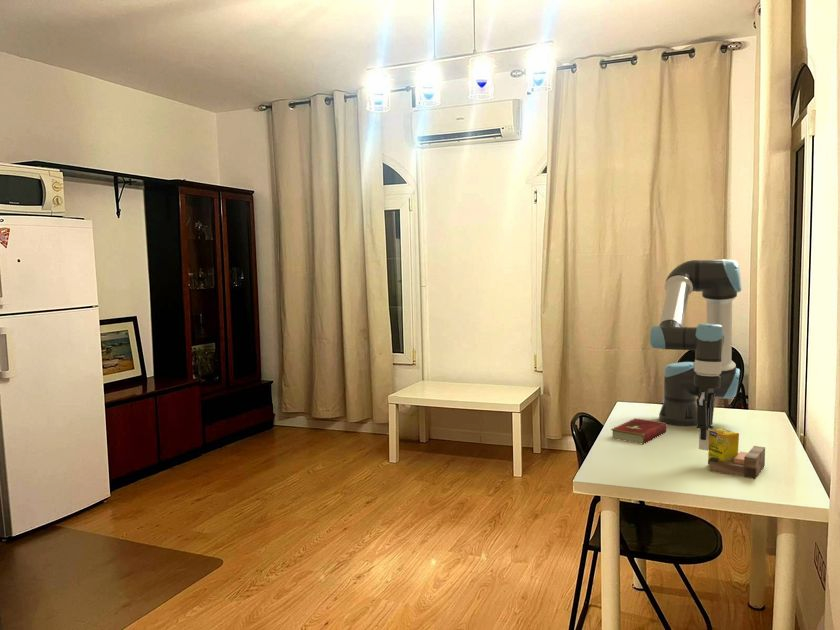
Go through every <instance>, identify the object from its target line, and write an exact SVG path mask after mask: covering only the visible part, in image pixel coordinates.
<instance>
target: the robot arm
mask: <svg viewBox="0 0 840 630" xmlns="http://www.w3.org/2000/svg"><path fill="white" fill-rule="evenodd" d="M666 277H667V278H666V279H665V284H664V290H665V297H664V302H663V305H662V311H661V315H660V321H659V325H655V326H654V325H653V326H651V328H650V331H649V344H650V347H651V348H652V349H656V350H657V349H658V350H674V351H675V350H676V351H677V350H678V351H683V350H684V351H694V352H695V353H694V354H695V355H694V356H695V357H694V361H682V362H681V361H680V362H673V363H669V364H667V365H665V368H664V374H663V378H664V381H663V382H664V386H663V387H664V388H663V389H664V391H663V392H664V393H663V397H664V398H663V402H662V405H661V408H660V411H659V414H658V420H659V422H663V423H666V424H668V425H674V426H695V425H696V429H699V433H698V434H699V435H698V450H701V451H707V452H709V431H710V430H711V429H714V426H713V420H714V410H715V402H716V399H722V400H724V399H730V400H731V399H734V398H735V397H736V396H737V393H738V387H739V380H740V375H741V370H740V368H737V366H736V365H737V364H736V363H735V362H734V361H733V360H732V356H733V355H732V349H733V348H732V345H733V344H732V339H733V338H732V337H733V335H732V334H733V333H732V332H733V300H735V299H736V298H737V297H738V293H740V292H741V291H742V280H741V271H740V265H739V262H738V261H737V260H735V259H725V258H723V259H720V258H719V259H701V260H700V259H697V260H696V259H691V260H687V261H684V262H683V263H681V264H679V265H677V266H675V268H673V269H672V270H671V272H670V273H669V274H668V275H667V276H666ZM693 292H700V293H701V298H702V299H704V300H705V301H706V323H699V324H697V325H696V327H695V326H693V327H692V326H690V327H689V326H684V325H685V319H686V313H687V308H688V307H687V306H688V300H689V296H690V295H691V294H692V293H693ZM697 397H698V398H697Z"/></svg>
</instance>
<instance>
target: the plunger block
mask: <svg viewBox="0 0 840 630" xmlns="http://www.w3.org/2000/svg"><path fill="white" fill-rule="evenodd" d="M738 453H739V454H738V455H737V456H736V457H735V458H734V463H738V464H744V457H745V456H746V454H747V453H748V452H745V451H740V452H738Z"/></svg>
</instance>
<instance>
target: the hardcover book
mask: <svg viewBox="0 0 840 630" xmlns="http://www.w3.org/2000/svg"><path fill="white" fill-rule="evenodd" d="M610 431H612V439H613V438H614V439H613V440H616V439H620V440H619V441H622V440H626V441H625V442H628V441H631V442H630V443H633V442H637V443H636V444H639V443H642V444H641V445H645V444H647V443H649V442H651V441H652V439H653V438H655V437H656V438H658V437H659V435H660V436H661V434H662V435H664V434H665V432H667V423H664V422H661V421H654V420H647V419H641V418H633V419H631V420H628V421H626V422H624V423H622V424H620V425H617V426H615V427H613V428H611V429H610ZM663 433H664V434H663ZM657 436H658V437H657ZM656 438H655V439H656ZM650 440H651V441H650ZM653 440H654V439H653ZM648 441H649V442H648ZM646 442H647V443H646ZM644 443H645V444H644Z"/></svg>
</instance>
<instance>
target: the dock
mask: <svg viewBox="0 0 840 630" xmlns="http://www.w3.org/2000/svg"><path fill="white" fill-rule="evenodd" d="M739 453H740V452H738V454H739ZM746 453H747V454H746V456H745V457H744V464H738V463H732V462H726V461H720V460H719V458H713V457H711V458H710V459H709V464H708V467H709V468H708V471H709V472H712V473H719V474H724V475H725V474H726V475H729V476H730V475H731V476H736V477H742V478H748V479H752V478H753V480H756V479H757V478H756V477H758V476H759V475H760V474H759V473H761V472H762V471H763V470H764V468H765V467H764V466H766V464H765V462H766V459H765V458H766V447H765V446H758V445H753V446H752V448H751V449H749V451H748V452H746ZM761 470H762V471H761Z"/></svg>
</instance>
